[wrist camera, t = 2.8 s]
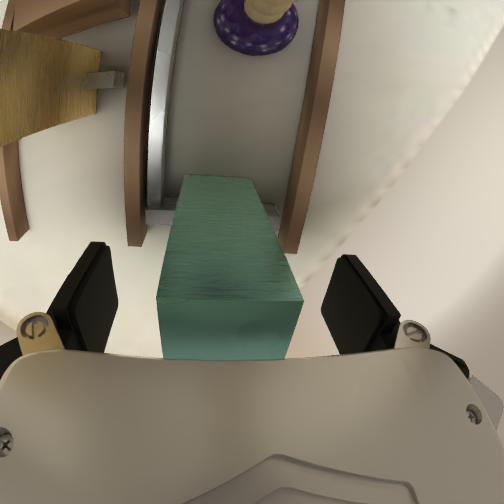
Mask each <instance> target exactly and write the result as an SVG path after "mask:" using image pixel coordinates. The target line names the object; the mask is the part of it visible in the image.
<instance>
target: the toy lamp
mask: <svg viewBox="0 0 504 504" xmlns="http://www.w3.org/2000/svg"><path fill="white" fill-rule="evenodd" d="M295 1H296V0H221V2H220V3H219V5H218V6H217V8H216V11H215V15H214V26H215V29H216V32H217V34H218V36H219V38H221V40H222V41H223V42H224V43H225V44H226V45H227V46H229V47H230V48H232V49H233V50H235V51H238V52H241V53H243V54H247V55H255V56H256V55H259V56H263V55H269V54H272V53H275V52H277V51H280V50H282V49H283V48H285V47H286V46H287V45H288V44H289V43H290V42H291V41H292V39H293V38H294V36H295V34H296V31H297V28H298V14H297V11H296V8H295V6H294V4H293V2H295Z"/></svg>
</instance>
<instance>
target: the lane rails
mask: <svg viewBox="0 0 504 504" xmlns="http://www.w3.org/2000/svg"><path fill="white" fill-rule="evenodd" d="M15 3H16V0H9V1H8V5H7V9H6V13H5V17H4V21H3V25H2V29H6V30H13V22H14V12H15ZM163 3H164V0H141V1H140V6H139V10H138V15H137V20H136V26H135V32H134V38H133V44H132V51H131V58H130V66H129V75H128V85H127V96H126V111H125V132H124V192H125V213H126V229H127V241H128V246H138V247H142V244H143V241H144V239H145V236H146V233H147V229H146V213H145V210H146V144H147V124H148V110H149V98H150V87H151V78H152V69H153V61H154V54H155V47H156V41H157V34H158V29H159V23H160V18H161V12H162V7H163ZM344 5H345V0H320V1H319V8H318V15H317V22H316V28H315V35H314V41H313V48H312V54H311V60H310V67H309V73H308V79H307V85H306V91H305V97H304V102H303V108H302V114H301V120H300V125H299V131H298V137H297V142H296V148H295V153H294V158H293V164H292V169H291V174H290V180H289V185H288V190H287V195H286V200H285V205H284V211H283V216H282V221H281V226H280V231H279V236H278V241H279V243H280V246H281V248H282V250H283V252H284V253H292V254H297V251H298V247H299V243H300V239H301V234H302V230H303V226H304V222H305V218H306V213H307V209H308V205H309V200H310V196H311V191H312V187H313V182H314V178H315V173H316V168H317V164H318V159H319V154H320V149H321V144H322V139H323V134H324V129H325V124H326V119H327V113H328V108H329V102H330V97H331V91H332V86H333V80H334V74H335V68H336V61H337V55H338V49H339V42H340V35H341V28H342V21H343V13H344ZM0 199H1V205H2V210H3V215H4V220H5V224H6V228H7V233H8V237H9V240H10V241H18V240H19V239H20V238H21V237H22V236H23V235H24V234H25V233H26V232H27V231H28V230H29V227H28V222H27V217H26V212H25V206H24V200H23V194H22V187H21V179H20V170H19V159H18V144H17V140H16V141H13V142H11V143H9V144H6V145H4V146H2V147H0Z"/></svg>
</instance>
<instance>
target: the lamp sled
mask: <svg viewBox="0 0 504 504" xmlns="http://www.w3.org/2000/svg"><path fill="white" fill-rule="evenodd" d="M183 3H184V0H166V3H165V8H164V13H163V18H162V23H161V29H160V35H159V41H158V48H157V54H156V62H155V70H154V78H153V88H152V98H151V110H150V124H149V143H148V186H147V192H148V205H147V207H146V210H145V213H146V224H161V225H172V226H171V230H170V234H169V239H168V243H167V247H166V252H165V256H164V261H163V266H162V271H161V275H160V280H159V286H158V291H157V296H156V300H157V311H158V320H159V329H160V337H161V345H162V352H163V358H170V359H194V360H266V359H284V358H285V355H286V352H287V349H288V347H289V344H290V341H291V338H292V335H293V332H294V329H295V327H296V324H297V320H298V318H299V315H300V312H301V308H302V305H303V302H304V300H303V297H302V295H301V293H300V290H299V288H298V285H297V283H296V280H295V278H294V276H293V273H292V271H291V269H290V266H289V264H288V262H287V259H286V257H285V255H284V252H283V250H282V248H281V246H280V243H279V241H278V239H277V236H276V234H275V232H274V231H278V229H279V224H280V219H281V217H280V215H279V213H278V211H277V209H276V207H275V205H274V204H265V203H261V200H260V198H259V196H258V194H257V191H256V189H255V187H254V185H253V183H252V180H251V179H247V178H235V177H222V176H207V175H188V174H185V176H184V180H183V184H182V187H181V191H180V195H179V198H165V197H164V168H165V147H166V131H167V118H168V107H169V96H170V87H171V78H172V70H173V63H174V55H175V49H176V42H177V36H178V30H179V24H180V19H181V13H182V8H183Z"/></svg>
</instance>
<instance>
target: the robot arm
mask: <svg viewBox="0 0 504 504" xmlns="http://www.w3.org/2000/svg"><path fill="white" fill-rule="evenodd" d="M117 308H118V297H117V291H116V285H115V279H114V273H113V266H112V259H111V251H110V247H109V246H106V244H105V242H90V244H89V245H88V247H87V248H86V250H85V251H84V253H83V254H82V256H81V257H80V259H79V260H78V262H77V263H76V265H75V267H74V268H73V270H72V271H71V273H70V274H69V275H68V276H67V278H66V280H65V281H64V283H63V285H62V286H61V288H60V290H59V291H58V293H57V295H56V296H55V298H54V300H53V302H52V303H51V305H50V307H49V309H48V311H47V313H42V312H35V313H31V314H29V315H27V316H25V317H24V318H23V319H22V320H21V321H20V322H19V324H18V326H17V338H15V339H13V340H11V341H9V342H7V343H5V344H3V345H1V346H0V504H504V448H503V445H502V443H501V440H500V438H499V436H498V434H497V432H496V429H497V427H498V424H499V421H500V418H501V415H502V412H503V403H502V401H501V399H500V398H499V397H498V395H496V394H495V393H494V392H493V391H492V390H490V389H489V388H488V387H487V386H485V385H484V384H483V383H482V382H480V381H479V380H478V379H477V378H476V377H474V376H473V375H472V376H471V377H469V369H468V367H467V365H466V363H465V362H464V361H463V360H462V359H460V358H458V357H456V356H454V355H452V354H450V353H448V352H446V351H444V350H442V349H440V348H438V347H435V346H434V345H432V344H430V334H429V332H428V330H427V329H426V328H425V327H424V326H423V325H421V324H420V323H418V322H416V321H413V320H405V321H403V322H401V323H400V321H399V318H400V316H401V314H400V313H399V311H398V310H397V309H396V307H395V306H394V305H393V303H392V302H391V301H390V299H389V298H388V297H387V295H386V294H385V292H384V291H383V290H382V288H381V287H380V286H379V284H378V283H377V282H376V280H375V279H374V278H373V276H372V275H371V274H370V272H369V271H368V270H367V269H366V267H365V266H364V265H363V264H362V262H361V261H360V260H359V259H358V257H357V256H356V255H346V254H344V255H342V256H341V258H338V259H337V262H336V264H335V268H334V271H333V274H332V277H331V280H330V283H329V286H328V289H327V292H326V295H325V298H324V300H323V303H322V306H321V313H322V315H323V318H324V320H325V322H326V324H327V326H328V329H329V331H330V333H331V335H332V337H333V340H334V342H335V344H336V347H337V349H338V351H339V353H340V355H331V356H320V357H306V358H291V359H266V360H194V359H170V358H154V357H141V356H130V355H119V354H110V353H104V350H105V347H106V343H107V340H108V337H109V333H110V330H111V327H112V324H113V321H114V318H115V314H116V311H117Z"/></svg>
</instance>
